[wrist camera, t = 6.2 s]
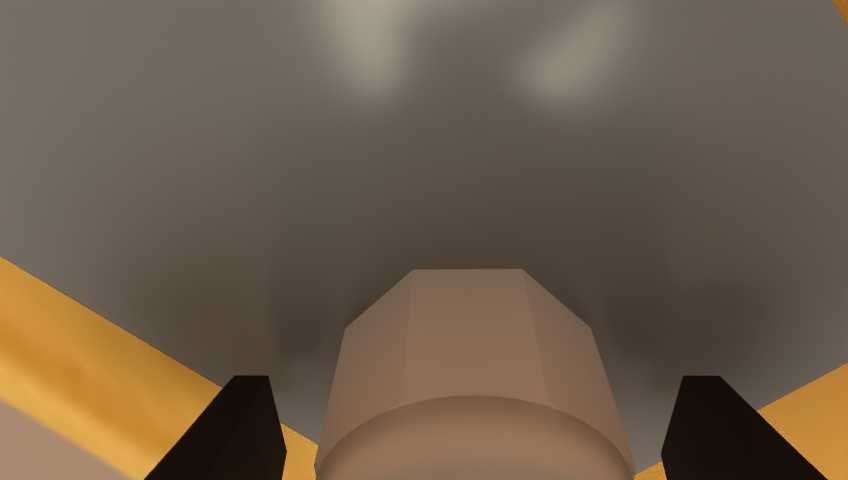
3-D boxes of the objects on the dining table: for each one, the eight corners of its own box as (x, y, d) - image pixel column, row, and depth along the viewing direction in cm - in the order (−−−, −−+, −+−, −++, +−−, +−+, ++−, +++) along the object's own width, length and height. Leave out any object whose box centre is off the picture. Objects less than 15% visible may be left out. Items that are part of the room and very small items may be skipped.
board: (966, 243, 11) (1170, 385, 8) (491, 512, 15) (502, 662, 12) (330, -692, 5) (190, -1389, 2) (-83, 154, 10) (-298, 264, 7)
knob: (641, 365, 11) (739, 602, 7) (465, 474, 13) (473, 704, 9) (467, 214, 9) (481, 424, 6) (295, 365, 11) (224, 593, 8)
